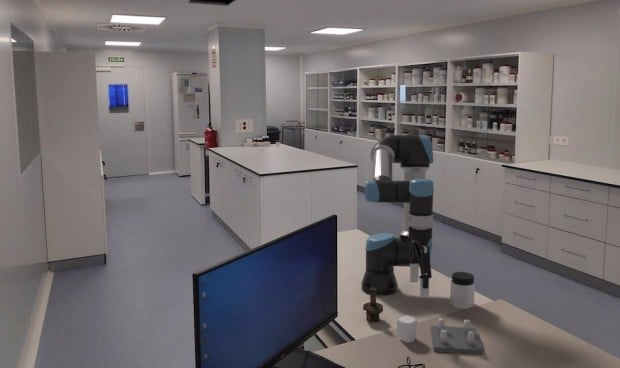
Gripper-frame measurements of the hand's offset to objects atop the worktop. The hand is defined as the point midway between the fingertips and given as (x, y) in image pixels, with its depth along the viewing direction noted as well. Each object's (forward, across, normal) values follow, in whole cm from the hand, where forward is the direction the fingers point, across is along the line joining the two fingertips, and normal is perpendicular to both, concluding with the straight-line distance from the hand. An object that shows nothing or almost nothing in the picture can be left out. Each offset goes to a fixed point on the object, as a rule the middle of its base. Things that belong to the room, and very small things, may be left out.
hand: (418, 289), depth 166 cm
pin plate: (+18, +2, +12) cm, 21 cm away
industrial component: (+17, -16, -12) cm, 26 cm away
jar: (+17, -26, +24) cm, 39 cm away
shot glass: (+18, -1, -4) cm, 18 cm away
